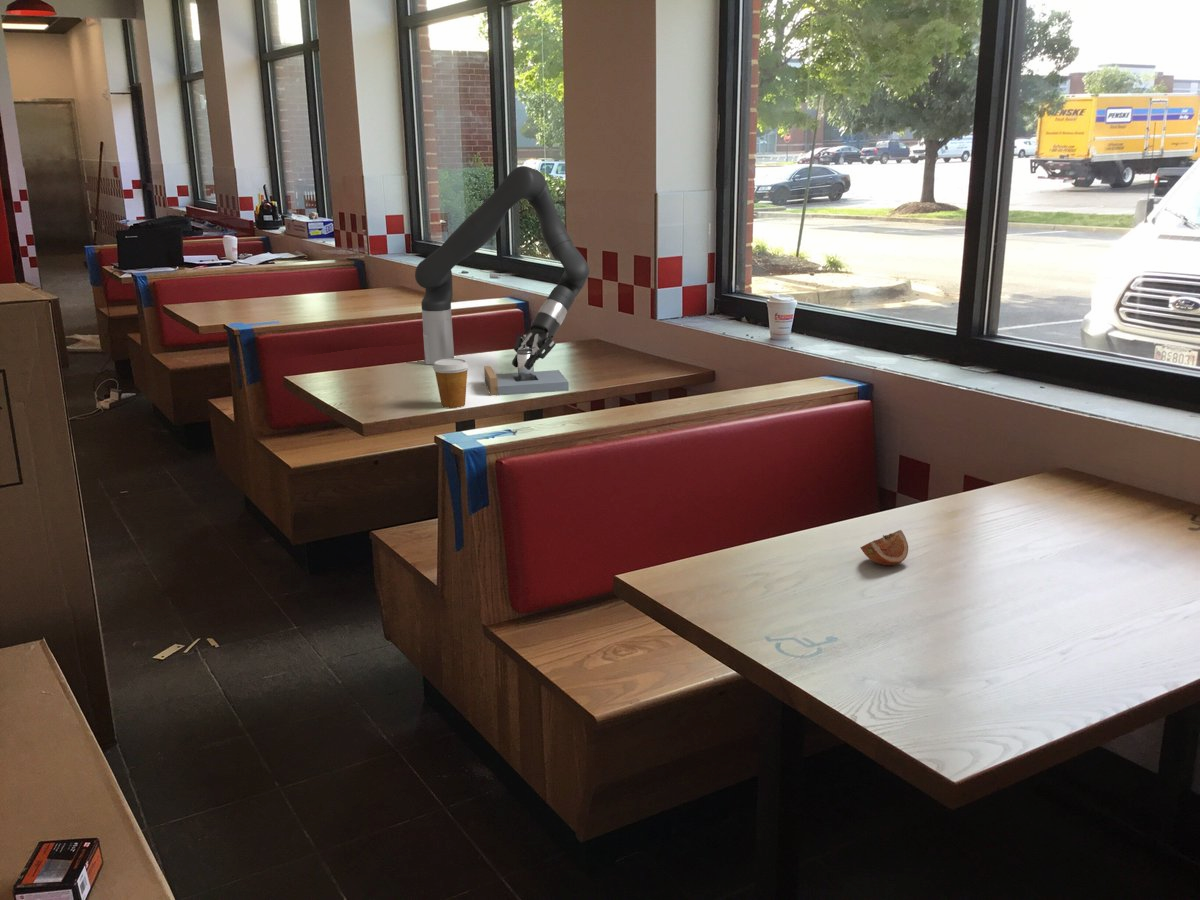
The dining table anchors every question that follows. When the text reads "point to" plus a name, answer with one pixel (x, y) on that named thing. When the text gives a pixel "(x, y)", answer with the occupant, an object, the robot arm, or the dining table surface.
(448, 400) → the disposable coffee cup
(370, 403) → the dining table surface
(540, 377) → the jig
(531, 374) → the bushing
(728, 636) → the dining table surface
